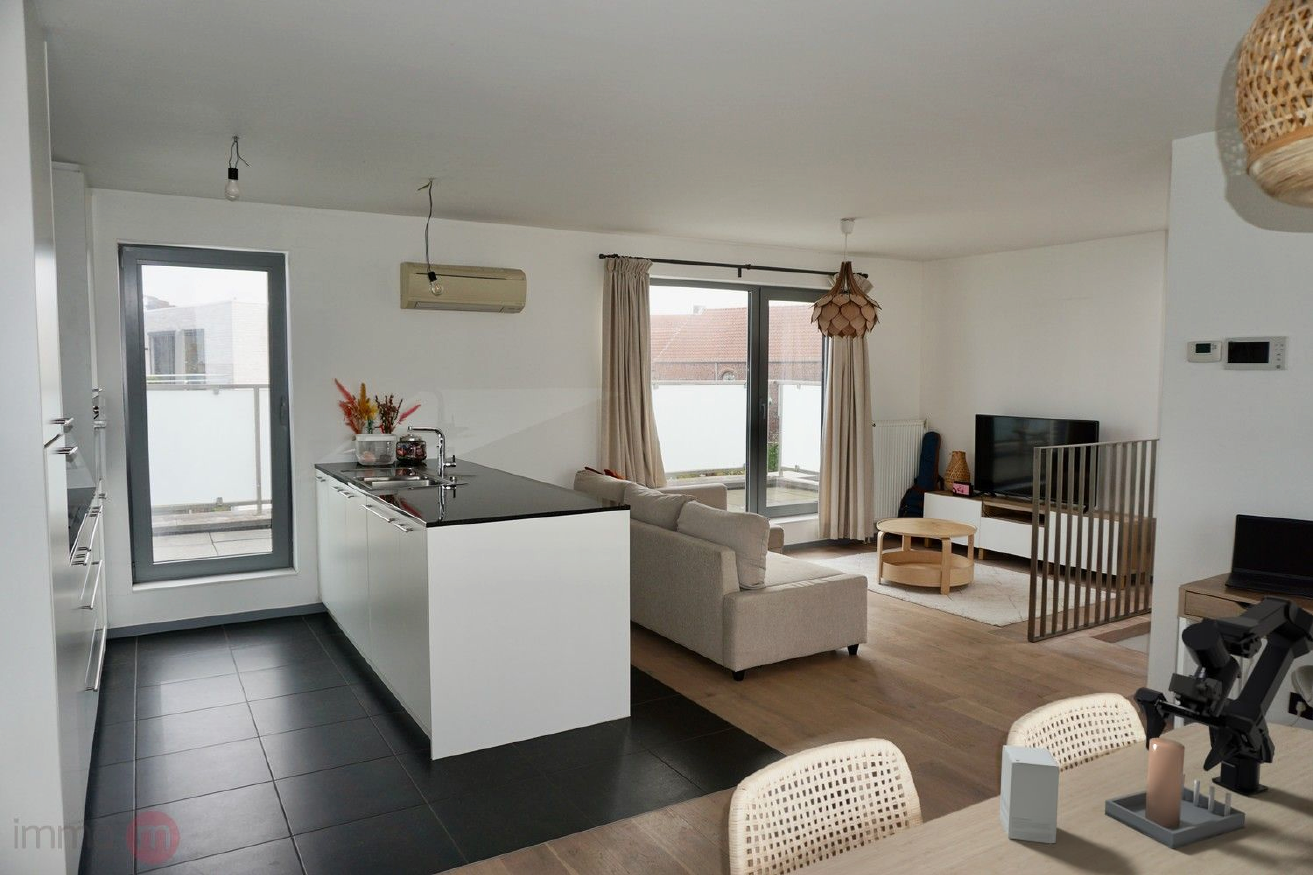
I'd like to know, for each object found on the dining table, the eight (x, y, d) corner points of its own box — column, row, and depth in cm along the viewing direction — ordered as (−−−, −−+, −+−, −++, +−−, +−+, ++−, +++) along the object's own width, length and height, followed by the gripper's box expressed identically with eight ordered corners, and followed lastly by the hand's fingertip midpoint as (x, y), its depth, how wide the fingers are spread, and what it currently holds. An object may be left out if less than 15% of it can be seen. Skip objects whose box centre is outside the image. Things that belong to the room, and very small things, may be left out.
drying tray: (1175, 795, 154) (1176, 768, 154) (1244, 827, 144) (1246, 797, 143) (1104, 813, 147) (1106, 785, 147) (1172, 848, 136) (1174, 817, 136)
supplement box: (1056, 844, 137) (1060, 766, 136) (1007, 839, 138) (1010, 761, 137) (1045, 822, 144) (1049, 747, 143) (998, 816, 145) (1001, 743, 145)
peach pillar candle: (1148, 809, 148) (1153, 735, 147) (1182, 819, 144) (1187, 743, 144) (1141, 820, 144) (1146, 743, 143) (1176, 831, 141) (1181, 752, 140)
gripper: (1141, 642, 155) (1103, 714, 150) (1258, 672, 139) (1220, 754, 134) (1162, 677, 160) (1126, 748, 154) (1278, 710, 144) (1242, 791, 139)
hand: (1175, 759), depth 145 cm, fingers open, 9 cm apart
